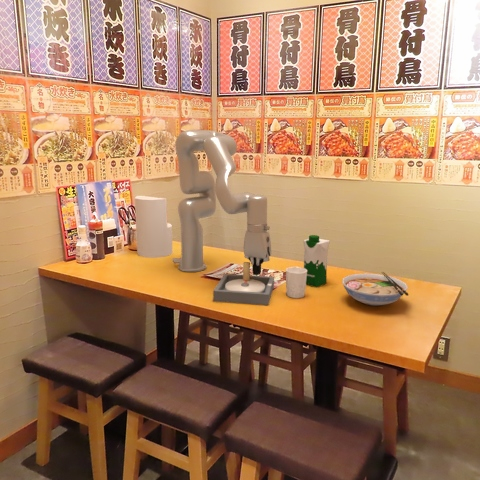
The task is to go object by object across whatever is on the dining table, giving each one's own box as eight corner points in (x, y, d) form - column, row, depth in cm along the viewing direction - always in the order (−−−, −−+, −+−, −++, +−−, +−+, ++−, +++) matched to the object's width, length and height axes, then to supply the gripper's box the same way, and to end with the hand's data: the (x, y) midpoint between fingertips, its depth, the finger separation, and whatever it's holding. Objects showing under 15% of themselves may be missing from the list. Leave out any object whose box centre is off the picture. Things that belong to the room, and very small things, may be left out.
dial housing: (213, 301, 165) (213, 290, 164) (224, 283, 184) (224, 273, 183) (268, 305, 162) (268, 294, 161) (273, 286, 181) (274, 276, 180)
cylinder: (155, 259, 216) (153, 201, 209) (129, 253, 225) (127, 197, 218) (179, 251, 230) (178, 196, 223) (154, 246, 239) (152, 193, 232)
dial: (263, 298, 165) (264, 274, 163) (222, 296, 166) (222, 273, 164) (265, 284, 179) (266, 262, 177) (227, 282, 181) (227, 261, 179)
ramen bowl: (335, 289, 178) (336, 269, 176) (394, 290, 178) (396, 270, 176) (347, 315, 154) (349, 292, 152) (416, 317, 153) (418, 294, 151)
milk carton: (299, 283, 185) (301, 235, 180) (312, 278, 191) (314, 231, 187) (317, 288, 179) (320, 239, 174) (330, 283, 186) (332, 235, 181)
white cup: (292, 300, 167) (293, 274, 165) (281, 293, 174) (281, 268, 171) (310, 296, 170) (311, 271, 168) (298, 290, 177) (299, 265, 175)
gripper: (279, 228, 171) (278, 275, 176) (245, 224, 179) (245, 268, 184) (269, 231, 165) (268, 280, 169) (235, 227, 173) (235, 273, 178)
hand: (256, 274), depth 177 cm, fingers closed
